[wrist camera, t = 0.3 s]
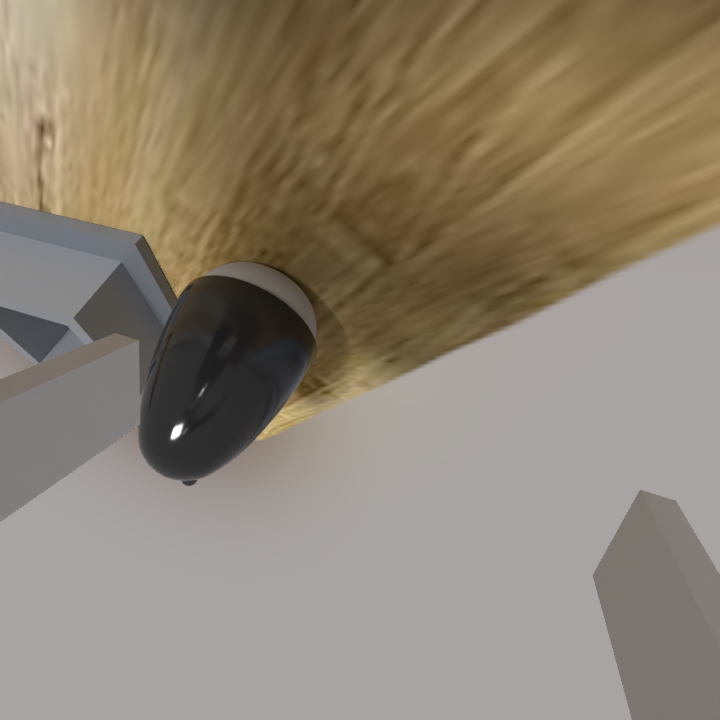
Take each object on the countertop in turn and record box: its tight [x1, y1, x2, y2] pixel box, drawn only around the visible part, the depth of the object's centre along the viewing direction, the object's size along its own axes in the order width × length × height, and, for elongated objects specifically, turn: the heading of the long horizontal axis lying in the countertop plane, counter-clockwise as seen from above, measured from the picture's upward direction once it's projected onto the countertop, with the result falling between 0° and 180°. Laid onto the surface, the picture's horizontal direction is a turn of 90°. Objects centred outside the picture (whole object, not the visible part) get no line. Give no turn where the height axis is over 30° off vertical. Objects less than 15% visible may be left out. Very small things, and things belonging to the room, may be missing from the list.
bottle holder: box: [0, 202, 177, 400], centre depth 41 cm, size 18×18×7 cm
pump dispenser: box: [138, 262, 317, 486], centre depth 31 cm, size 10×10×15 cm
